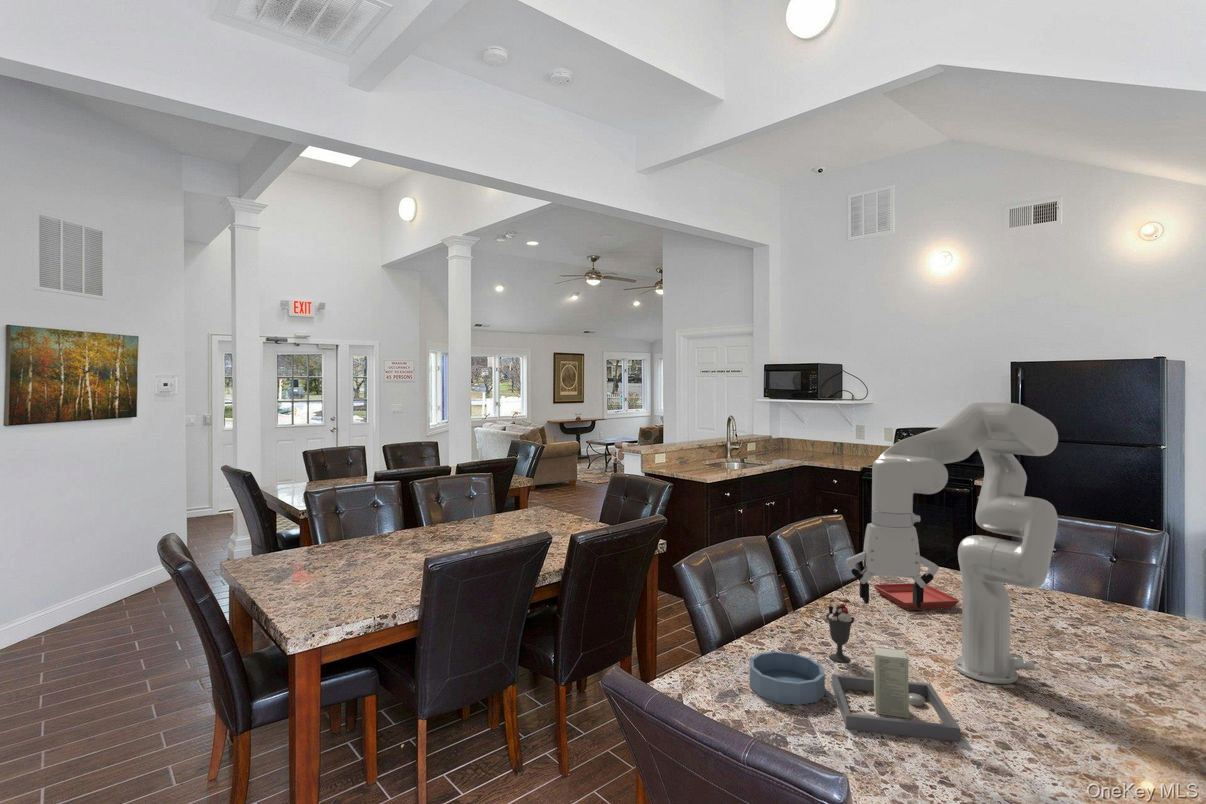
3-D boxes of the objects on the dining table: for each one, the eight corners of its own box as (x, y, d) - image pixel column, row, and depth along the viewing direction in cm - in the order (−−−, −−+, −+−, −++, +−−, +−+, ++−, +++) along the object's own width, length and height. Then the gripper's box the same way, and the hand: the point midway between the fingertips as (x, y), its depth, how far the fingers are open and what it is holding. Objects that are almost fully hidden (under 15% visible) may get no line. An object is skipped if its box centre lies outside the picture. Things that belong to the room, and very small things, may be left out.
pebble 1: (871, 719, 121) (871, 712, 121) (875, 728, 118) (875, 721, 118) (854, 717, 121) (854, 710, 121) (857, 726, 118) (857, 719, 118)
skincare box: (905, 708, 125) (906, 649, 125) (909, 719, 120) (909, 658, 120) (872, 703, 127) (873, 645, 127) (874, 714, 122) (875, 654, 122)
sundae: (857, 665, 144) (857, 603, 144) (827, 663, 146) (828, 601, 146) (851, 654, 151) (852, 594, 151) (823, 651, 152) (823, 592, 152)
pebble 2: (921, 700, 128) (921, 694, 128) (926, 708, 125) (926, 701, 125) (905, 699, 129) (905, 692, 129) (909, 706, 126) (909, 699, 126)
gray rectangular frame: (930, 695, 130) (930, 683, 130) (960, 742, 113) (960, 728, 113) (831, 685, 134) (831, 674, 134) (846, 728, 117) (846, 715, 117)
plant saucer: (871, 593, 199) (871, 583, 199) (923, 592, 201) (923, 582, 201) (905, 613, 181) (905, 602, 181) (961, 611, 183) (961, 600, 183)
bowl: (818, 674, 140) (818, 655, 140) (828, 708, 124) (828, 686, 124) (749, 667, 143) (749, 648, 143) (750, 700, 128) (750, 678, 128)
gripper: (932, 518, 125) (931, 601, 125) (843, 514, 129) (842, 594, 129) (944, 525, 118) (943, 613, 118) (849, 521, 121) (848, 606, 122)
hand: (890, 603), depth 123 cm, fingers open, 9 cm apart
